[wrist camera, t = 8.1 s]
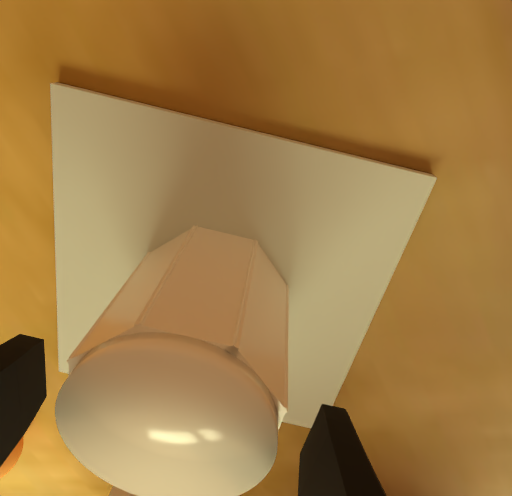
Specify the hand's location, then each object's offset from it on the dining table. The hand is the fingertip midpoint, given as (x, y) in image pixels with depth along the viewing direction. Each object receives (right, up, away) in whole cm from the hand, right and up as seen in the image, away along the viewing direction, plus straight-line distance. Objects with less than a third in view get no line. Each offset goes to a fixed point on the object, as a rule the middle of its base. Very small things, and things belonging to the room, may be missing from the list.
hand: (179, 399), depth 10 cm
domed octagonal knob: (0, +2, +4) cm, 5 cm away
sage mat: (0, +2, +5) cm, 5 cm away
